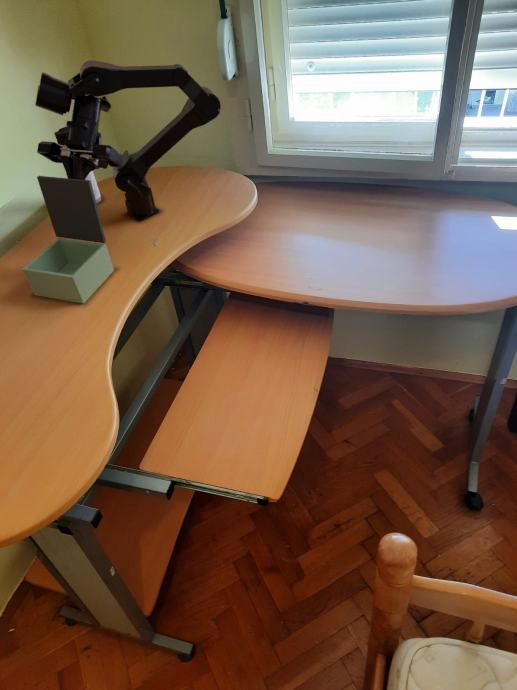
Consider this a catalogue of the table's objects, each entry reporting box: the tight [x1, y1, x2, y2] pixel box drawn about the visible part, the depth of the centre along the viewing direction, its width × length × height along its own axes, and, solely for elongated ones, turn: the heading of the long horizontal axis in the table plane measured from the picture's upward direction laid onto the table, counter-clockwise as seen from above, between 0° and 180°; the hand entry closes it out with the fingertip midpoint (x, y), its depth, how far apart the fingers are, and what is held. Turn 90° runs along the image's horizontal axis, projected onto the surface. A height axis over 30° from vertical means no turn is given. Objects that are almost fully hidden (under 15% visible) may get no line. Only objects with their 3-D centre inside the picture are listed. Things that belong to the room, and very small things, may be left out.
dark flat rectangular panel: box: [36, 175, 107, 244], centre depth 97 cm, size 13×12×1 cm
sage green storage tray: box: [21, 237, 115, 305], centre depth 100 cm, size 12×12×7 cm
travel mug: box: [54, 125, 102, 205], centre depth 123 cm, size 6×7×20 cm
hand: (74, 192), depth 104 cm, fingers closed
